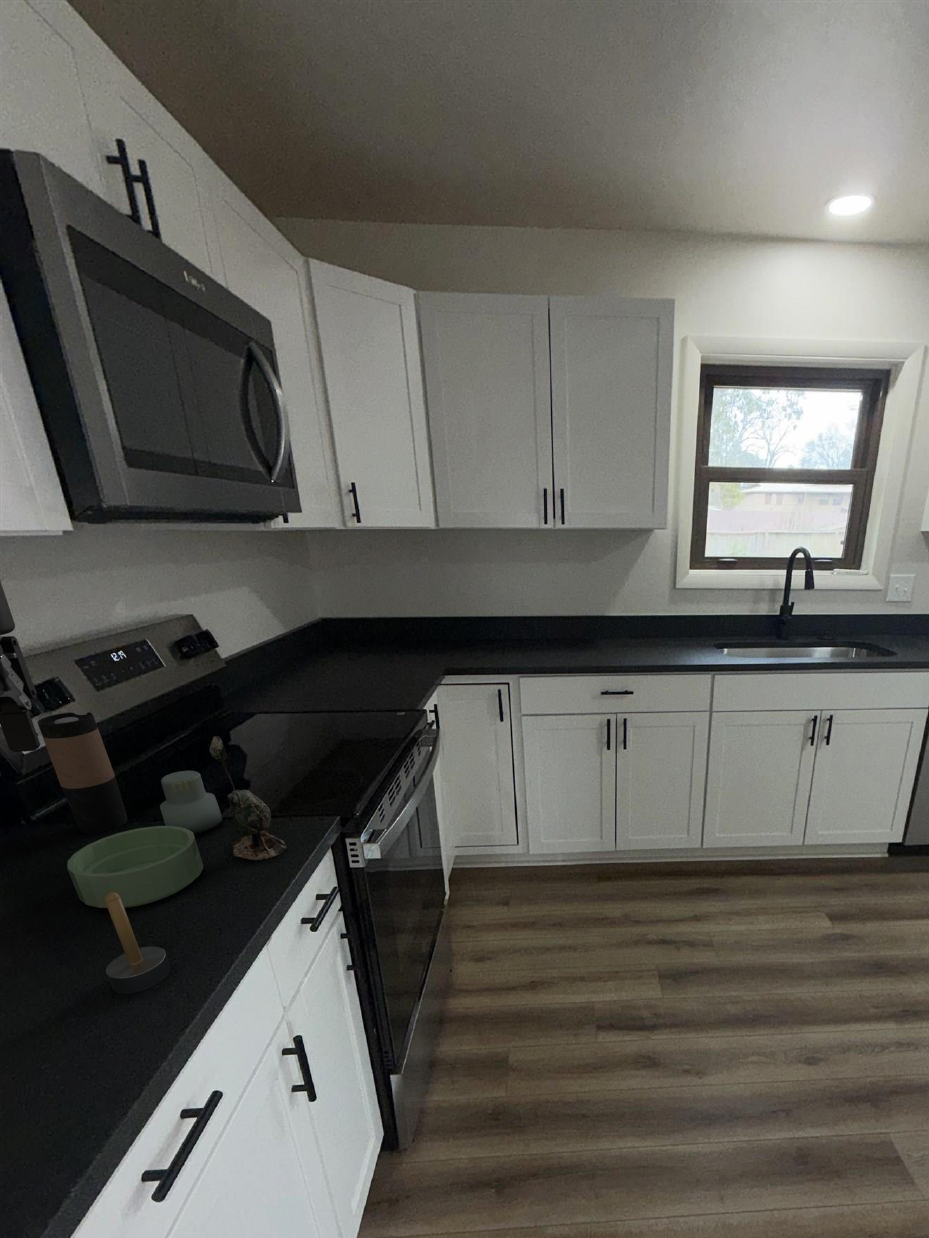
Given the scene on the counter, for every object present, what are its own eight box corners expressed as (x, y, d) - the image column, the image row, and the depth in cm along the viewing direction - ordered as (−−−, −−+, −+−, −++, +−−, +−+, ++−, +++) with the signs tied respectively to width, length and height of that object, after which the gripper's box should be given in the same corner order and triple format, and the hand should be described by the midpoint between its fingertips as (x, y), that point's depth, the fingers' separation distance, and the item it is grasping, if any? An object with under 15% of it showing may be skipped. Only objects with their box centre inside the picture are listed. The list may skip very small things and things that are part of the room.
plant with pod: (233, 874, 101) (199, 753, 93) (232, 844, 110) (201, 731, 102) (290, 861, 105) (262, 744, 96) (284, 833, 114) (258, 724, 105)
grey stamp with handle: (104, 999, 75) (68, 912, 70) (121, 967, 80) (89, 884, 75) (163, 988, 77) (132, 902, 72) (176, 957, 82) (148, 876, 77)
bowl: (63, 921, 89) (47, 884, 87) (103, 867, 103) (90, 834, 100) (191, 901, 94) (180, 865, 91) (213, 852, 107) (203, 820, 105)
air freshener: (165, 823, 117) (149, 772, 113) (217, 812, 122) (203, 762, 118) (172, 846, 109) (154, 791, 105) (226, 833, 114) (212, 780, 110)
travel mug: (83, 838, 112) (41, 727, 104) (73, 825, 117) (32, 718, 108) (135, 824, 117) (98, 717, 109) (123, 811, 122) (87, 708, 113)
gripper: (-76, 568, 57) (-10, 745, 63) (-189, 582, 45) (-92, 799, 51) (29, 569, 59) (83, 738, 66) (-50, 582, 47) (25, 788, 54)
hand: (6, 765), depth 58 cm, fingers open, 8 cm apart
